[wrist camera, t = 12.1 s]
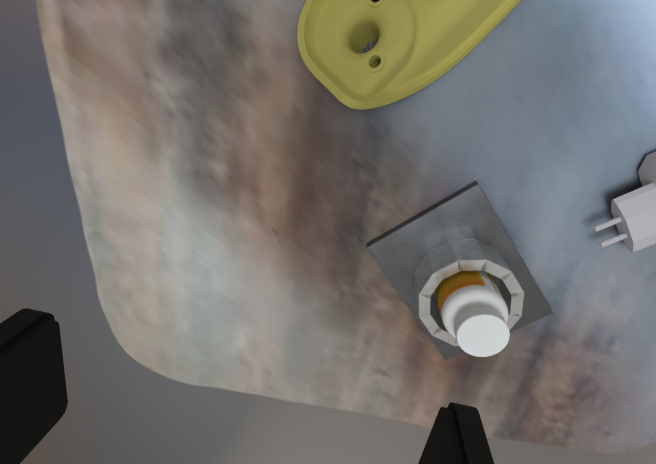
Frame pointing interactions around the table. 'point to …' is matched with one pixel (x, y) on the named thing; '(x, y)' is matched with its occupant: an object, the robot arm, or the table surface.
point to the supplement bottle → (474, 312)
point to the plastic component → (390, 43)
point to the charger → (636, 211)
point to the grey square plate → (456, 262)
